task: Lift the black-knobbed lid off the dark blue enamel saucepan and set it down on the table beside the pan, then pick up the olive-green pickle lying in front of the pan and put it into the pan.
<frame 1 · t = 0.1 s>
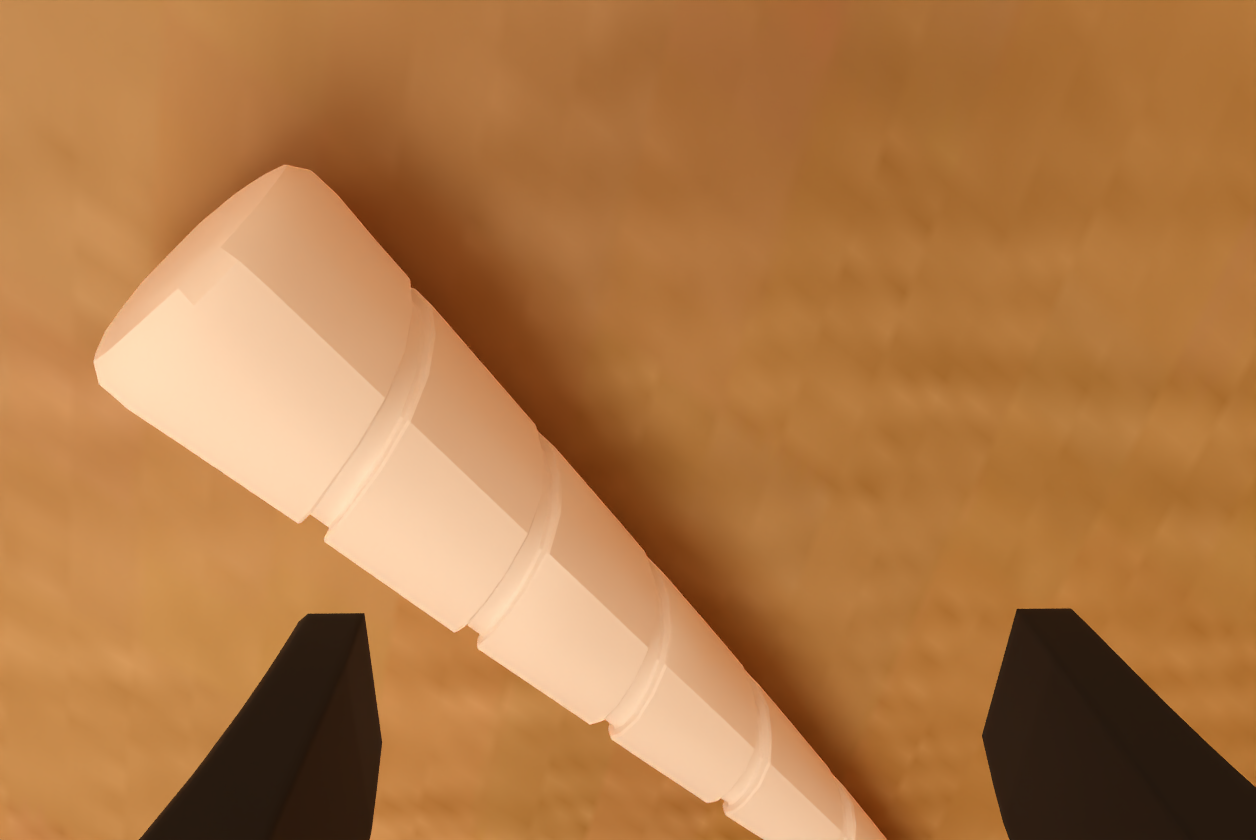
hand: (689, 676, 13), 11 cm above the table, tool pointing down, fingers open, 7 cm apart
unicorn horn: (622, 581, 25), on the table
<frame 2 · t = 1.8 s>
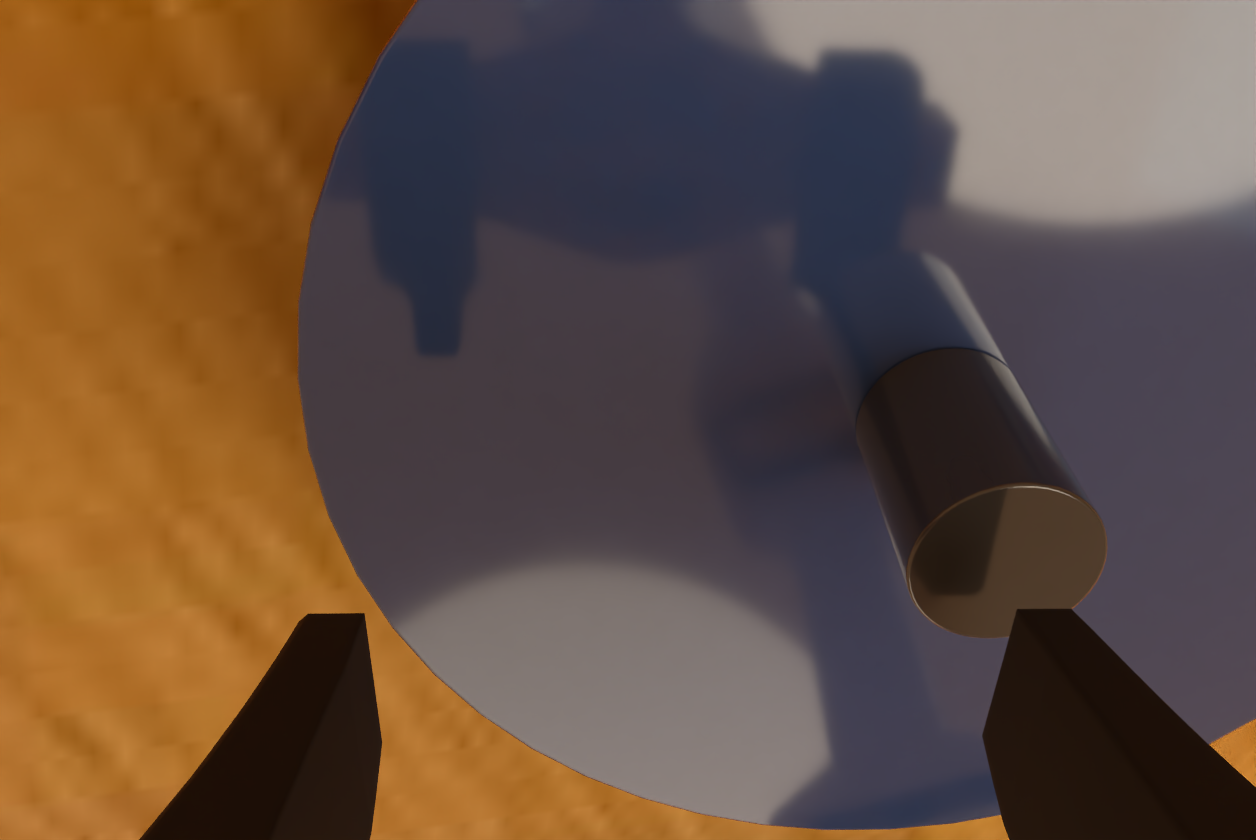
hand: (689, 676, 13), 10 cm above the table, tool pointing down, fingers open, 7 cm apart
pan lid: (930, 401, 17), point 5 cm above the table, touching pan
when the fingers open (2 cm above the table, at t = 8.1 s): pan lid stays where it is, point 1 cm above the table.
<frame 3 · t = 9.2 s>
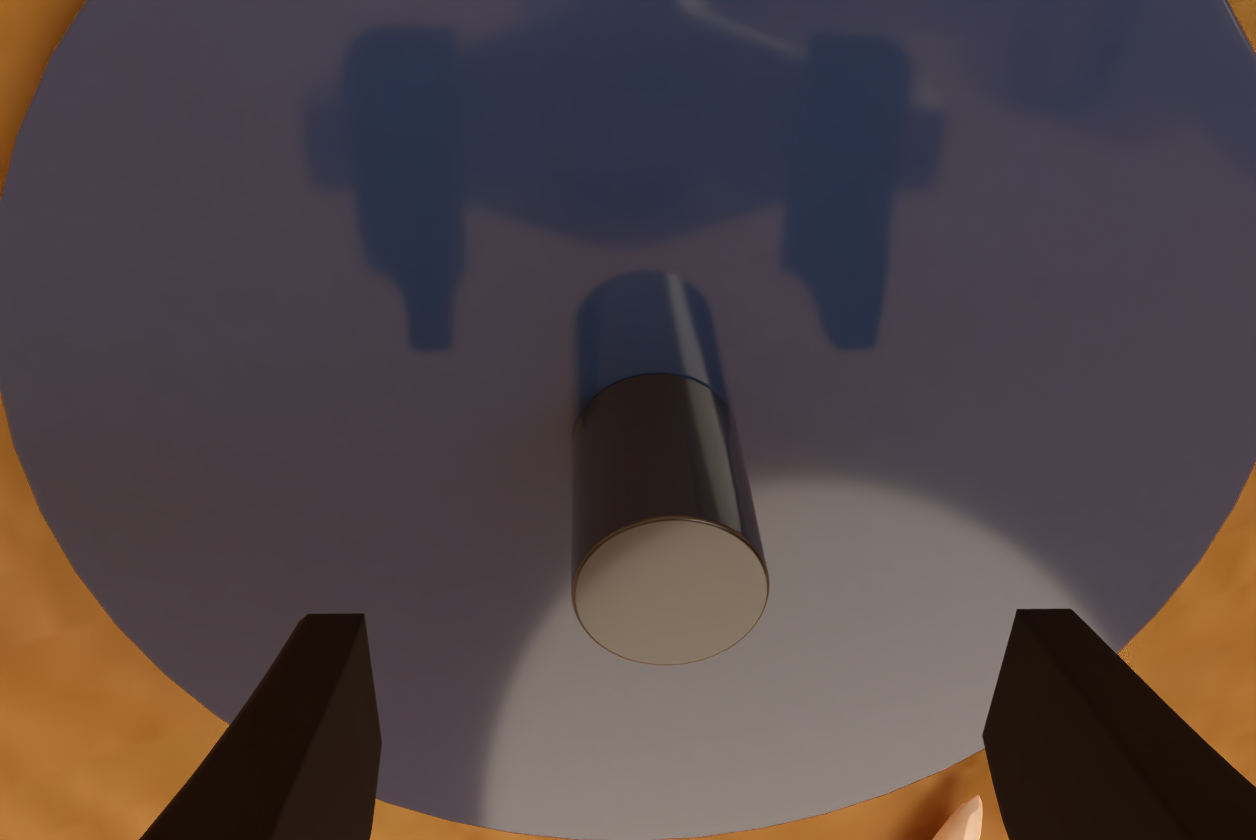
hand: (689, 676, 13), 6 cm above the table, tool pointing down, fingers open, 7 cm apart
pan lid: (653, 424, 17), point 1 cm above the table
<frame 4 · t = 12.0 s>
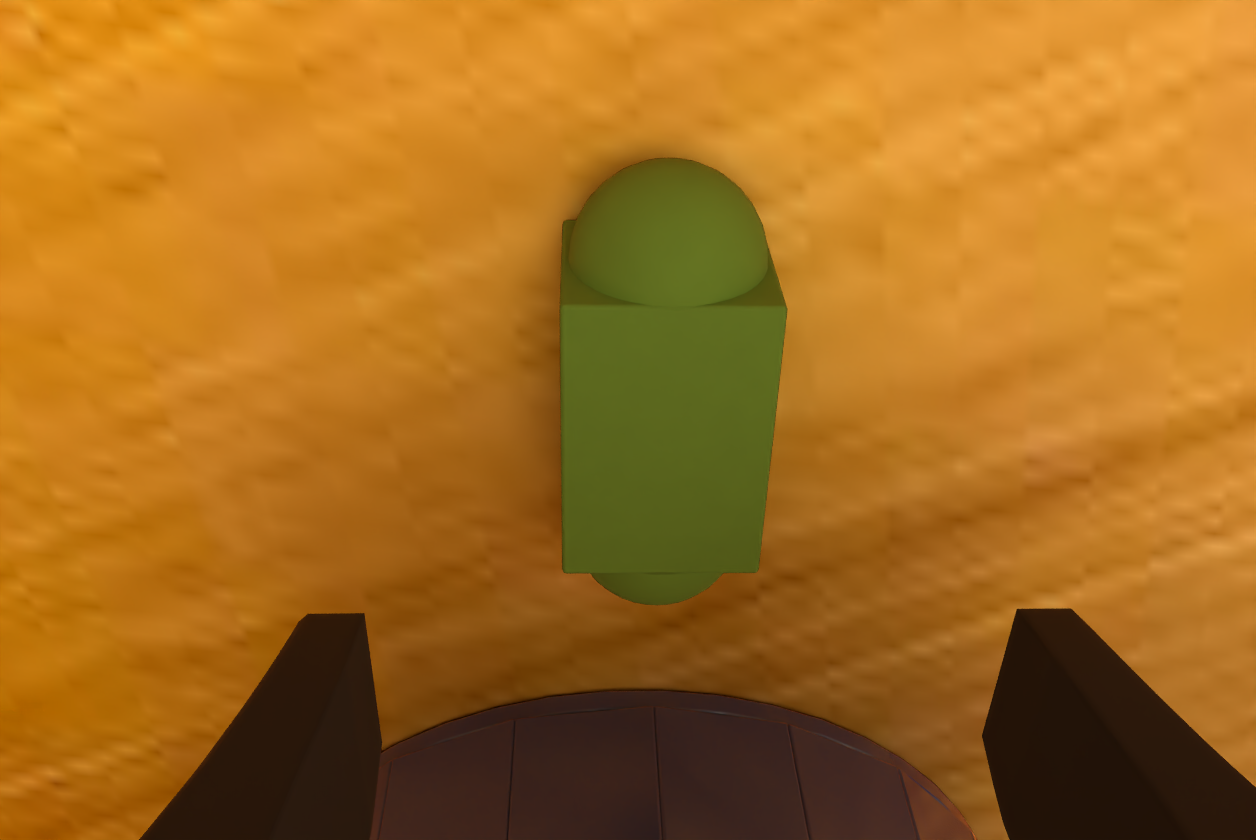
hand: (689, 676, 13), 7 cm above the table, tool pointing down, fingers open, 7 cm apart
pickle: (656, 351, 19), on the table
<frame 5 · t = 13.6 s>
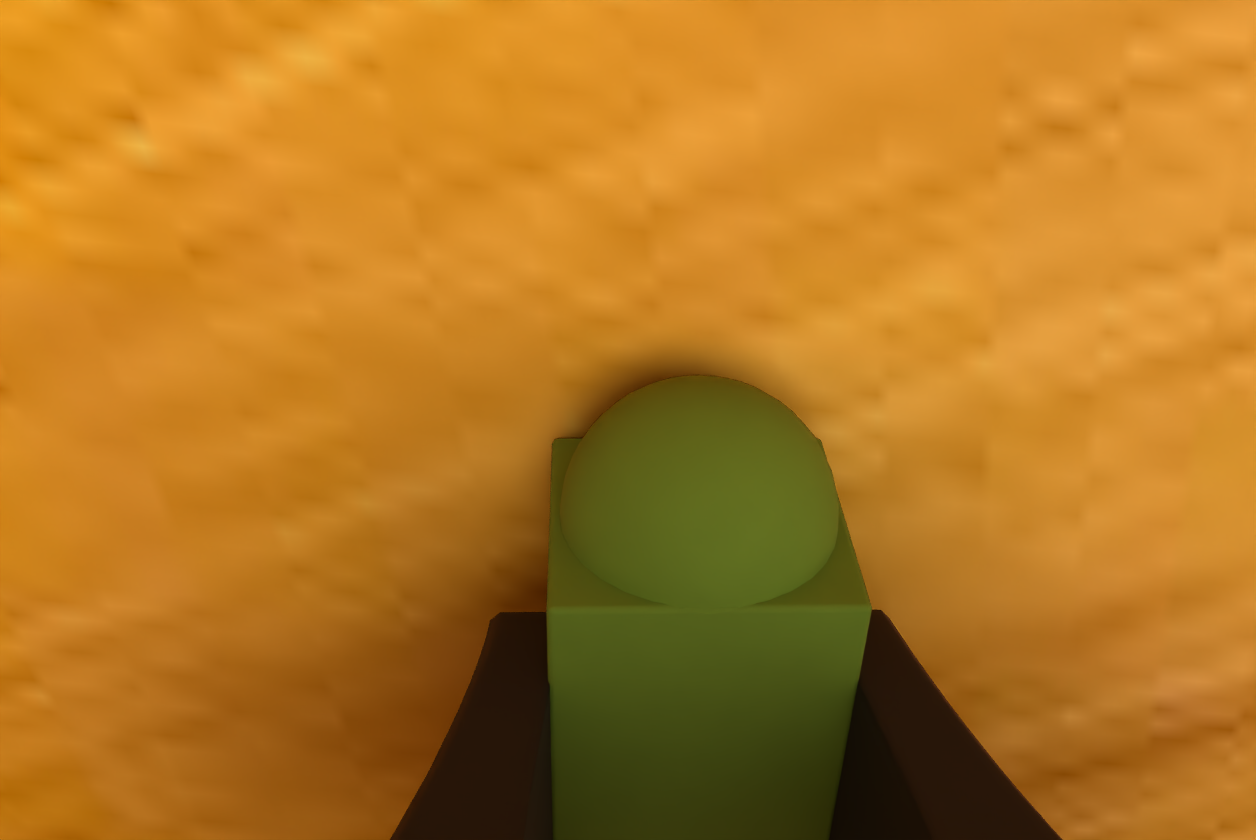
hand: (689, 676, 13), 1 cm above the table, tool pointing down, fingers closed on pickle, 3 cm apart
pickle: (678, 591, 14), on the table, touching gripper
when the fingers open (3 cm above the table, at t = 18.1 s): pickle stays where it is, resting on pan.
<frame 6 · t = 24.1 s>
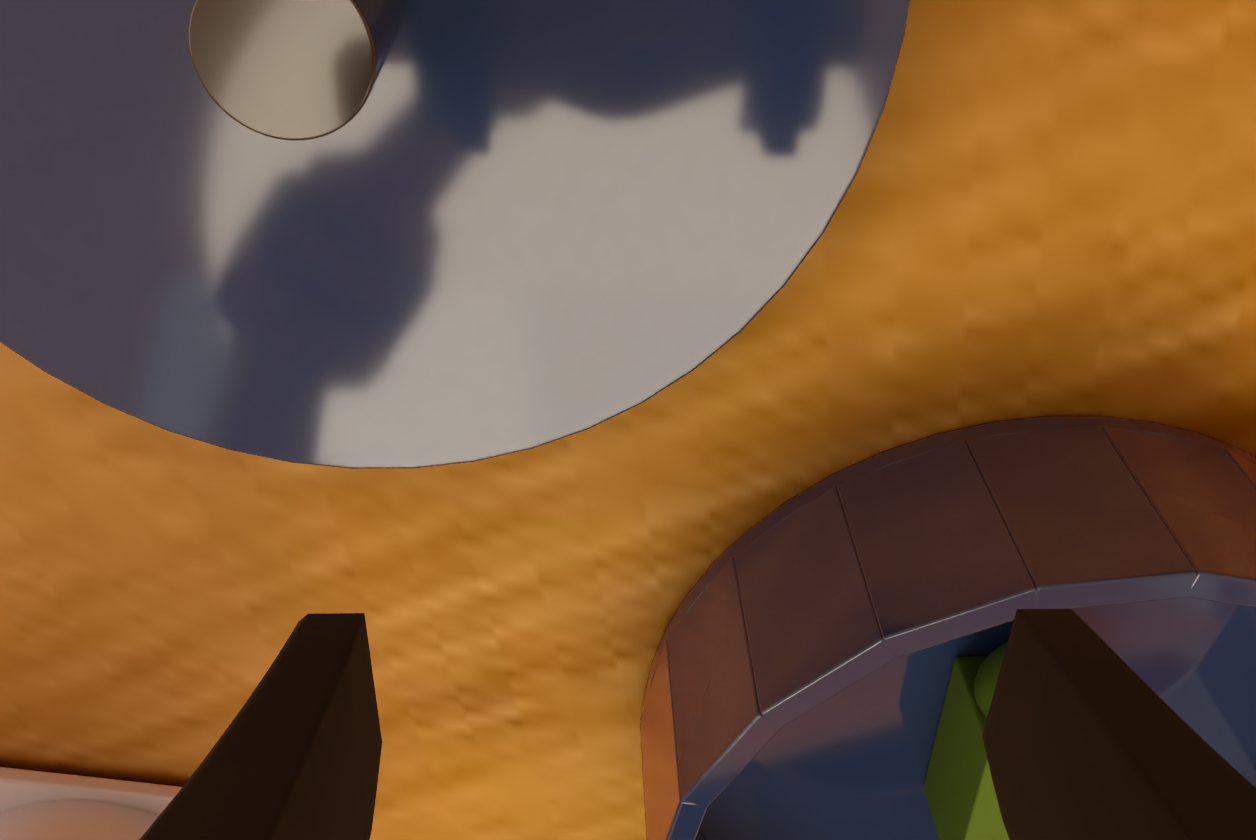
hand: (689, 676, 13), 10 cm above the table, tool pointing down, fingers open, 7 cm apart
pan: (993, 707, 29), on the table
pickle: (999, 723, 28), point 1 cm above the table, touching pan
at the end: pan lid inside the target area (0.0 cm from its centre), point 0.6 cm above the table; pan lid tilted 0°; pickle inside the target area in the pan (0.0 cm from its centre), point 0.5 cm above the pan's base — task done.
